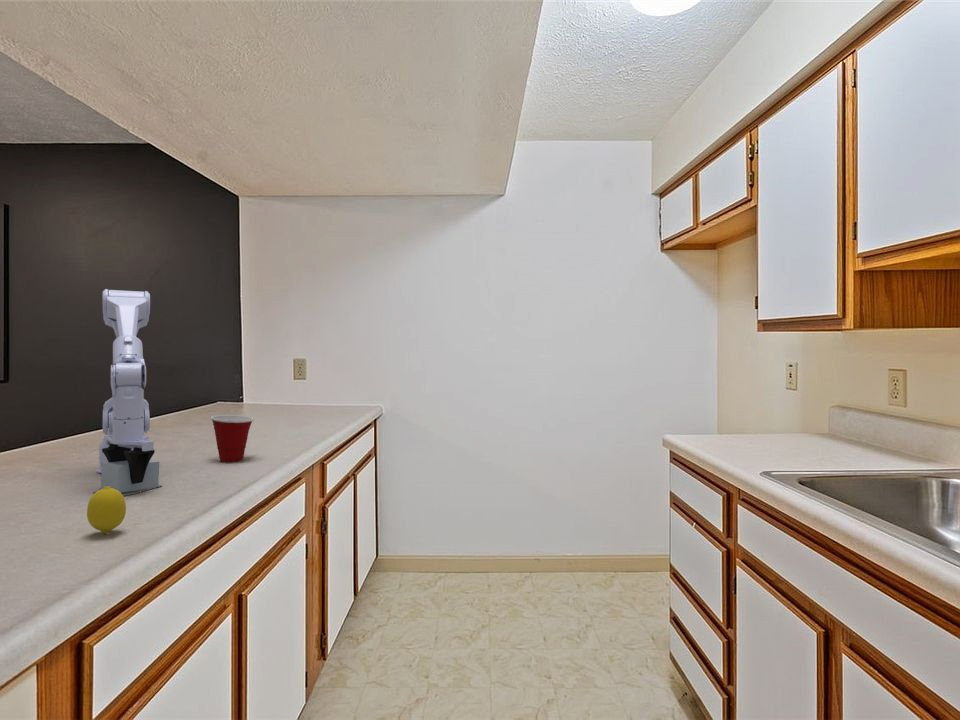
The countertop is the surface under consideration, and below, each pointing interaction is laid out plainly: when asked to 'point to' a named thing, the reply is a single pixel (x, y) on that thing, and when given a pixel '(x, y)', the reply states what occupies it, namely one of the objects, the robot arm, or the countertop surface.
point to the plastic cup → (231, 436)
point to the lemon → (106, 509)
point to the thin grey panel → (135, 491)
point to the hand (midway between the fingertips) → (128, 481)
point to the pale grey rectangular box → (128, 476)
